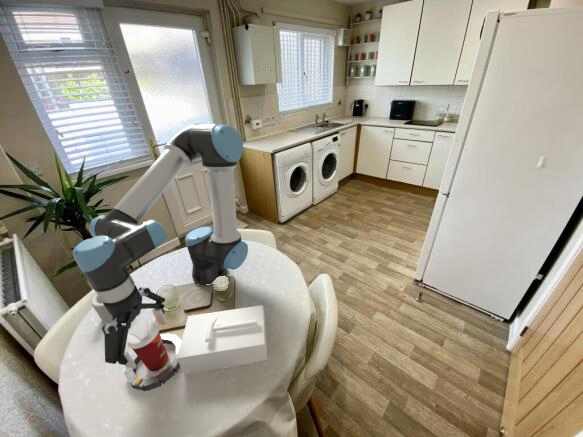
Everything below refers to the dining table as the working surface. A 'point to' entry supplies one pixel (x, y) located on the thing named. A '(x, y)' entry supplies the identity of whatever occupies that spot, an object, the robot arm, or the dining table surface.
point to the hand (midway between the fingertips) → (148, 343)
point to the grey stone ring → (158, 379)
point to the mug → (101, 310)
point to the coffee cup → (148, 345)
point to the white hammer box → (223, 340)
